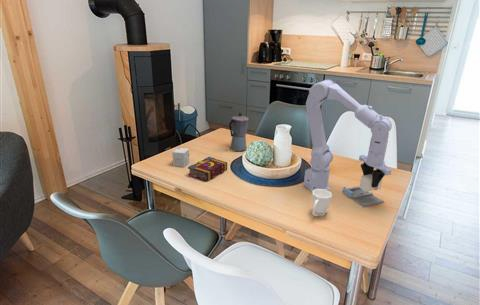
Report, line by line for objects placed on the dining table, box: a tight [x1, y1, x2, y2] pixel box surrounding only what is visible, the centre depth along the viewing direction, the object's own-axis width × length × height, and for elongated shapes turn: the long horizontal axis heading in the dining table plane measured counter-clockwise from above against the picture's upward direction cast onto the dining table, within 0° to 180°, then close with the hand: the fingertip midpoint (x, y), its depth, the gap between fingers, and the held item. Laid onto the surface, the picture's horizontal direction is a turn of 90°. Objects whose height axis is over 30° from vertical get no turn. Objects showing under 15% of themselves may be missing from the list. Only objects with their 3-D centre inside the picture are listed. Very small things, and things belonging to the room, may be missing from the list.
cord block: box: [359, 174, 384, 192], centre depth 122 cm, size 7×4×5 cm, turn 110°
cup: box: [312, 189, 333, 217], centre depth 114 cm, size 7×10×8 cm
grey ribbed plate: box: [341, 185, 385, 208], centre depth 127 cm, size 10×13×3 cm
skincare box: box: [171, 147, 191, 168], centre depth 154 cm, size 6×6×7 cm
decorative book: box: [187, 156, 228, 182], centre depth 145 cm, size 11×16×5 cm
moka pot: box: [228, 112, 250, 152], centre depth 171 cm, size 10×15×20 cm, turn 148°
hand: (370, 184), depth 122 cm, fingers closed on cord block, 4 cm apart
